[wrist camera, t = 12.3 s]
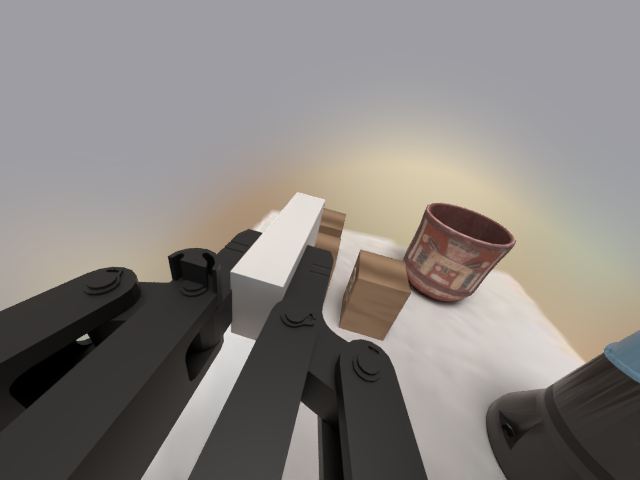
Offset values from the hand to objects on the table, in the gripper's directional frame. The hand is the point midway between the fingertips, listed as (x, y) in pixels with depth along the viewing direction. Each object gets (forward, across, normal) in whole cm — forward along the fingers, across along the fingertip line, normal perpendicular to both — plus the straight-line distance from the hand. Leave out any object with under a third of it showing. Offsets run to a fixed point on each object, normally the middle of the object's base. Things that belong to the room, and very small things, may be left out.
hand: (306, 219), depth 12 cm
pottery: (+37, +28, -28) cm, 54 cm away
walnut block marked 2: (+20, +11, -28) cm, 36 cm away
